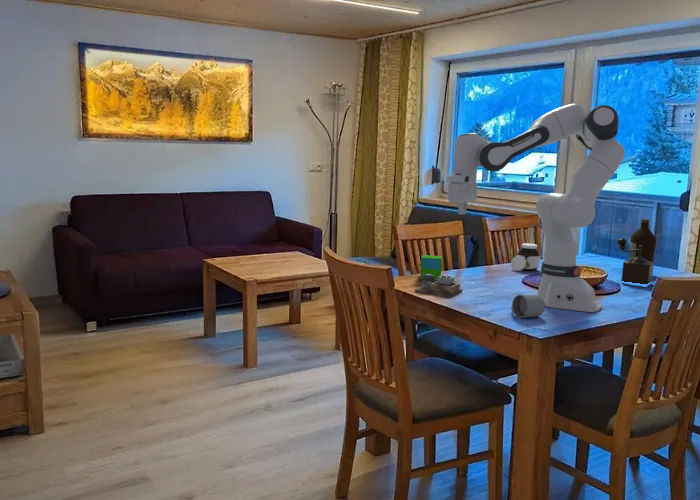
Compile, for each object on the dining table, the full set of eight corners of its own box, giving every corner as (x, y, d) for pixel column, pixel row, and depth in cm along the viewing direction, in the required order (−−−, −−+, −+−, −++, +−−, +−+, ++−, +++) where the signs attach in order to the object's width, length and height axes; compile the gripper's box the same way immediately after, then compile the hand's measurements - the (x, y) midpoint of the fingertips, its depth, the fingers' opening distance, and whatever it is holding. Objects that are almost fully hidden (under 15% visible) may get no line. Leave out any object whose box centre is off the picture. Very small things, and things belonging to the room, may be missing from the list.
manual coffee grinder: (652, 283, 270) (657, 241, 267) (647, 287, 261) (652, 244, 258) (614, 277, 279) (618, 237, 276) (607, 281, 270) (612, 239, 267)
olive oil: (647, 272, 294) (654, 218, 290) (655, 277, 284) (662, 221, 279) (623, 271, 295) (629, 217, 291) (630, 275, 285) (636, 220, 281)
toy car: (442, 276, 268) (443, 253, 266) (443, 283, 255) (444, 258, 253) (418, 275, 269) (419, 251, 267) (417, 281, 256) (418, 257, 254)
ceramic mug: (545, 318, 208) (547, 295, 207) (526, 320, 204) (528, 297, 203) (523, 311, 217) (525, 288, 216) (504, 313, 213) (506, 290, 212)
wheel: (436, 287, 243) (436, 274, 242) (430, 289, 239) (431, 276, 238) (425, 285, 245) (425, 272, 244) (419, 287, 241) (420, 274, 240)
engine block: (453, 290, 239) (454, 275, 238) (449, 292, 235) (450, 277, 234) (441, 288, 241) (442, 273, 240) (436, 290, 238) (437, 275, 237)
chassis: (462, 291, 241) (462, 281, 240) (449, 297, 231) (450, 286, 230) (428, 286, 248) (429, 276, 248) (414, 291, 238) (415, 281, 238)
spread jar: (539, 269, 292) (542, 244, 290) (537, 273, 281) (539, 247, 279) (513, 266, 296) (515, 242, 294) (509, 270, 286) (511, 245, 284)
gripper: (466, 175, 247) (464, 211, 250) (445, 177, 230) (443, 215, 233) (482, 176, 244) (479, 212, 247) (462, 178, 227) (459, 216, 229)
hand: (461, 214), depth 239 cm, fingers closed
